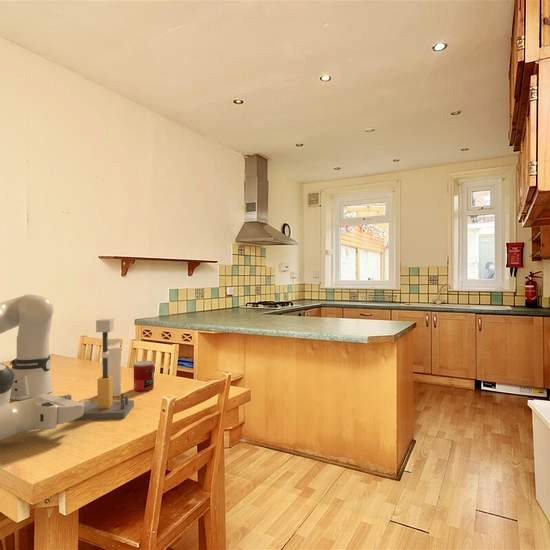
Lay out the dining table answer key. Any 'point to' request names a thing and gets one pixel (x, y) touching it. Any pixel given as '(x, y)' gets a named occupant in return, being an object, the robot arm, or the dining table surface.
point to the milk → (114, 364)
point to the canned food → (143, 376)
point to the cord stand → (118, 407)
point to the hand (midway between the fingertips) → (79, 399)
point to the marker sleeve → (105, 392)
